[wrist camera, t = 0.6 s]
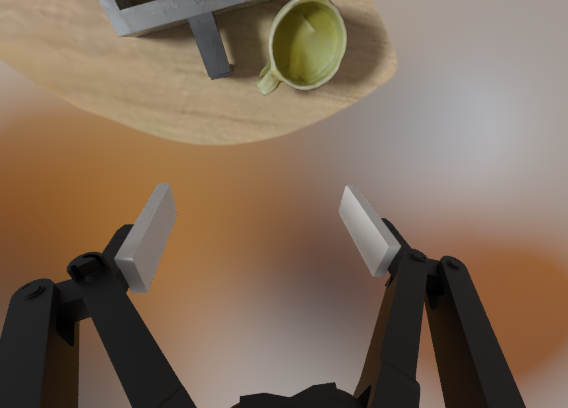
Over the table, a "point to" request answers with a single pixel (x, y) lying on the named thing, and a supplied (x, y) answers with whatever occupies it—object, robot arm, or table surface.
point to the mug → (304, 46)
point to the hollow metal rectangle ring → (177, 11)
